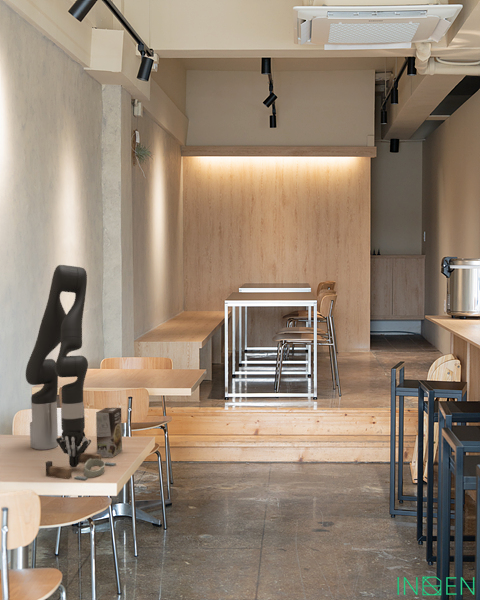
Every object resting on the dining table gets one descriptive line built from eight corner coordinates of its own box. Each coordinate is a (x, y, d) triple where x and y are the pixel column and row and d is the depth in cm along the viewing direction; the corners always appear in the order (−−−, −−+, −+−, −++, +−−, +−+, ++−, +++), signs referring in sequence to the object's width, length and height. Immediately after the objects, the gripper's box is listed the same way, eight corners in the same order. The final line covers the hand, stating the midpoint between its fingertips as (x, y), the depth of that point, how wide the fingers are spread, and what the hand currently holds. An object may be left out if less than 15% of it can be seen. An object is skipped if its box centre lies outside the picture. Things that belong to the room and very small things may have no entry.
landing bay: (74, 479, 205) (74, 477, 205) (106, 463, 221) (105, 462, 221) (84, 480, 204) (84, 478, 204) (115, 465, 220) (115, 463, 220)
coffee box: (113, 457, 229) (112, 412, 228) (96, 457, 230) (95, 412, 229) (123, 450, 238) (121, 407, 237) (106, 450, 239) (105, 406, 238)
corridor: (45, 475, 209) (45, 462, 209) (79, 460, 226) (79, 448, 226) (68, 478, 206) (68, 464, 205) (101, 463, 222) (101, 450, 222)
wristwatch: (92, 469, 216) (92, 454, 216) (109, 470, 214) (109, 455, 214) (78, 477, 207) (78, 462, 207) (96, 479, 205) (96, 463, 205)
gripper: (49, 416, 214) (50, 467, 215) (82, 419, 209) (83, 471, 210) (63, 411, 221) (64, 461, 222) (96, 414, 216) (97, 465, 217)
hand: (74, 466), depth 216 cm, fingers closed
